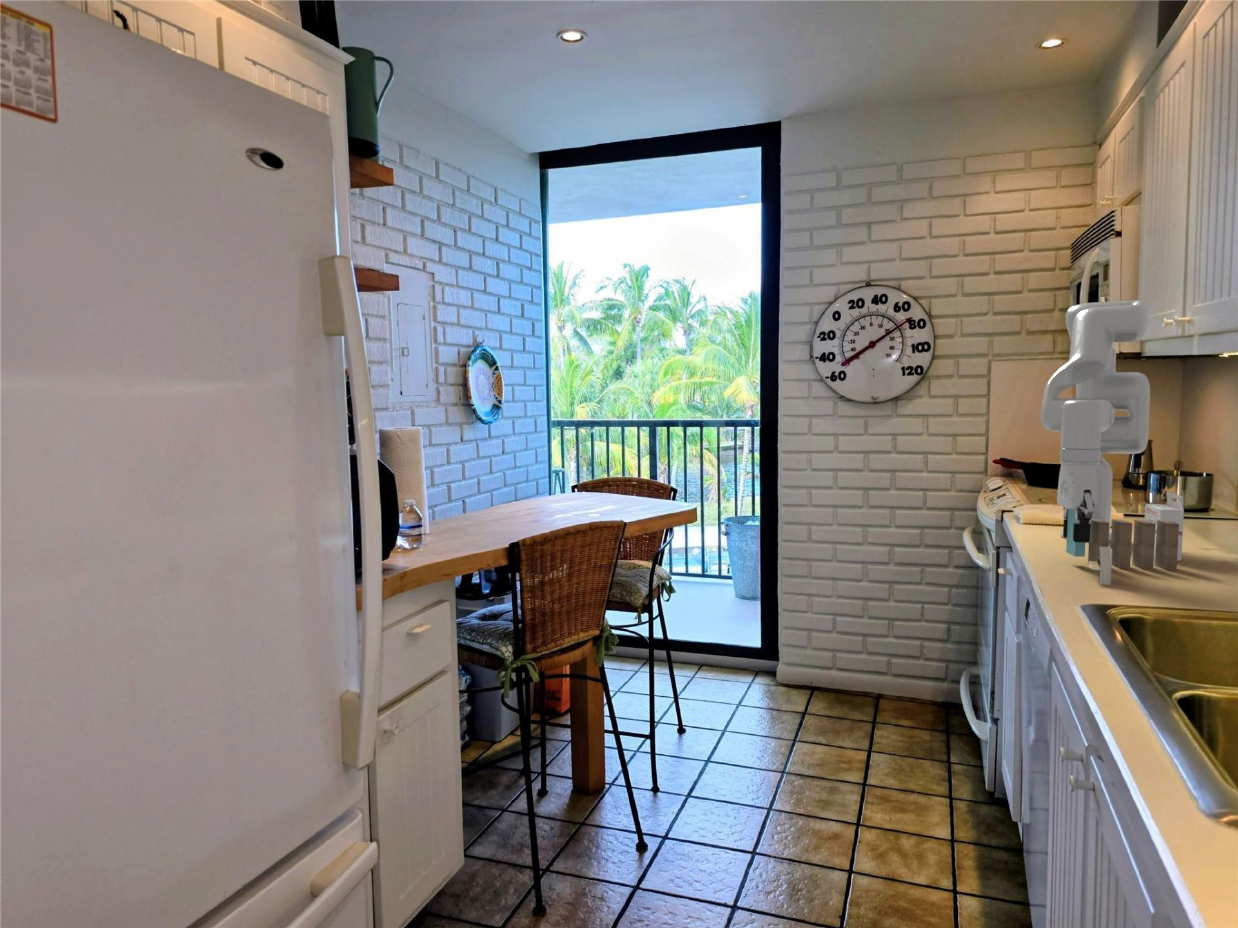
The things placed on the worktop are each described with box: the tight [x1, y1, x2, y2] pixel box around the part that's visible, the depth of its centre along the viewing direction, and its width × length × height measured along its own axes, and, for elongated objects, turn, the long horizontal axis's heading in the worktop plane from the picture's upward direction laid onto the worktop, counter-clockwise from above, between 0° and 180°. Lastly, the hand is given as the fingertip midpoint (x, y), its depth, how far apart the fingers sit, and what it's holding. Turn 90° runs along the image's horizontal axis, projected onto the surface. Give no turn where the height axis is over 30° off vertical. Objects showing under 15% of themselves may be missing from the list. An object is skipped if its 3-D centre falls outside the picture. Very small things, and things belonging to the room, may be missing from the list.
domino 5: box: [1154, 520, 1179, 572], centre depth 173 cm, size 5×2×10 cm, turn 170°
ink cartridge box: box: [1144, 491, 1185, 562], centre depth 184 cm, size 9×5×15 cm, turn 168°
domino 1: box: [1065, 508, 1086, 558], centre depth 176 cm, size 5×2×10 cm, turn 170°
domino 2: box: [1087, 519, 1110, 565], centre depth 175 cm, size 5×2×10 cm, turn 170°
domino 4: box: [1131, 519, 1156, 571], centre depth 174 cm, size 5×2×10 cm, turn 170°
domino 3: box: [1110, 518, 1133, 570], centre depth 174 cm, size 5×2×10 cm, turn 170°
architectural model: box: [1088, 544, 1113, 586], centre depth 162 cm, size 3×7×7 cm, turn 154°
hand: (1076, 538), depth 176 cm, fingers closed on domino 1, 4 cm apart
